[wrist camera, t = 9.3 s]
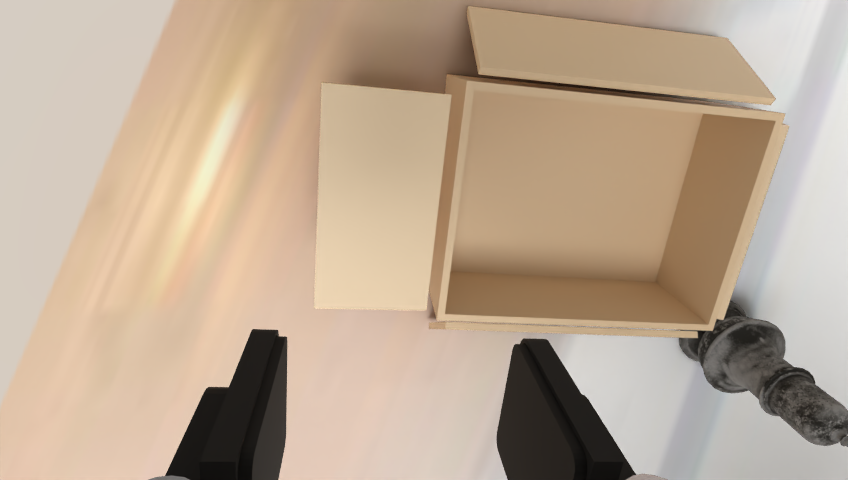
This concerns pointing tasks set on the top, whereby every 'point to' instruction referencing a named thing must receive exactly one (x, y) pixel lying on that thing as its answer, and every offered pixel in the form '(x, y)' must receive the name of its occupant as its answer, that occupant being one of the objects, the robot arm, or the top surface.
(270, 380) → the robot arm
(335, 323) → the top surface
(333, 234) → the flap
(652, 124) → the carton
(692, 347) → the weathered iron finial
